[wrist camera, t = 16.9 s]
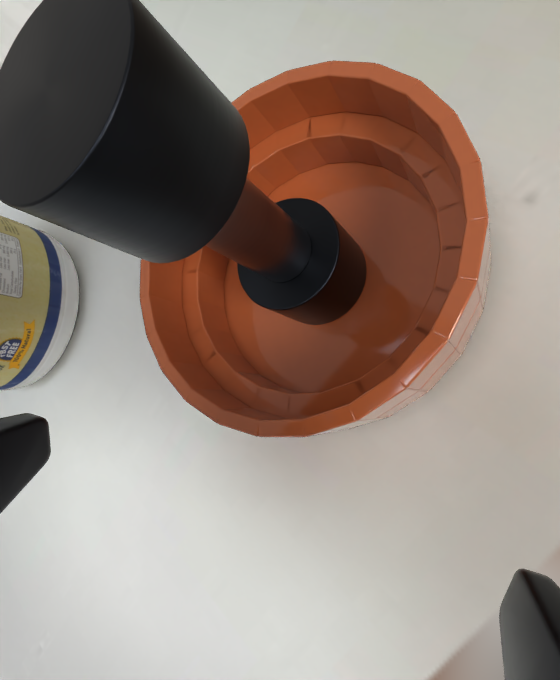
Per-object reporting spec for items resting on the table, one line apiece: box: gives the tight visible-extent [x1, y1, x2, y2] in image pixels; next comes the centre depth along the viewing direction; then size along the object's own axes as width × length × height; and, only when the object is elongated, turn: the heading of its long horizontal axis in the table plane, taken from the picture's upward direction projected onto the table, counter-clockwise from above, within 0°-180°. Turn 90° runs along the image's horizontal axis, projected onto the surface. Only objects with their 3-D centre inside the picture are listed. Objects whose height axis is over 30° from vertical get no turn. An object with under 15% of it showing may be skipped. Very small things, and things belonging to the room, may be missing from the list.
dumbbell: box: [0, 0, 366, 325], centre depth 13 cm, size 5×5×13 cm
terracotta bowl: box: [140, 61, 491, 437], centre depth 17 cm, size 14×14×5 cm
